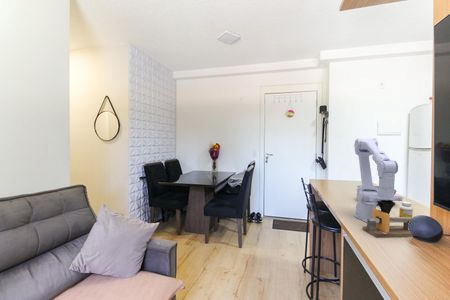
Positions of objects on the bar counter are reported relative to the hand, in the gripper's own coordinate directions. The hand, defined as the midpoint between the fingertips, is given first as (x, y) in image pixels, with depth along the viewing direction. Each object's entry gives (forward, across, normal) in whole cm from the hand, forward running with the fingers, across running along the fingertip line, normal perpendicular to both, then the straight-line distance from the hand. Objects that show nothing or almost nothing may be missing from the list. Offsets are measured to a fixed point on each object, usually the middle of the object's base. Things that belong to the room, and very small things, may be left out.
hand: (385, 216), depth 102 cm
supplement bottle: (+8, +25, +15) cm, 30 cm away
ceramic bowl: (+8, +34, +48) cm, 59 cm away
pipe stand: (+8, +2, 0) cm, 8 cm away
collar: (+6, -2, 0) cm, 6 cm away
